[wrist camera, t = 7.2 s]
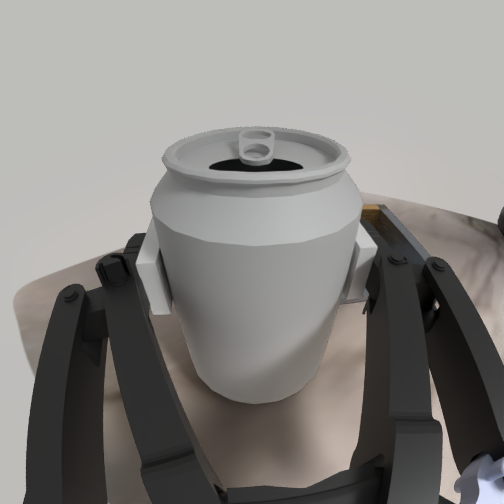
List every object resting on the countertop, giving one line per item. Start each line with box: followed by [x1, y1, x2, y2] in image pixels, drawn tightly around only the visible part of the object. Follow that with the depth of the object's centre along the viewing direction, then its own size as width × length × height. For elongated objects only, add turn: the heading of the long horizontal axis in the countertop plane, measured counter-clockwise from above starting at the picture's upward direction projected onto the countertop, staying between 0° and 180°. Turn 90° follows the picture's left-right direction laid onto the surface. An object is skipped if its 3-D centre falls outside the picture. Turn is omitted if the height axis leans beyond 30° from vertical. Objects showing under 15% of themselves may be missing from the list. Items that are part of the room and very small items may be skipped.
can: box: [150, 127, 363, 404], centre depth 12 cm, size 8×8×12 cm
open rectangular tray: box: [339, 205, 431, 304], centre depth 23 cm, size 12×10×3 cm
